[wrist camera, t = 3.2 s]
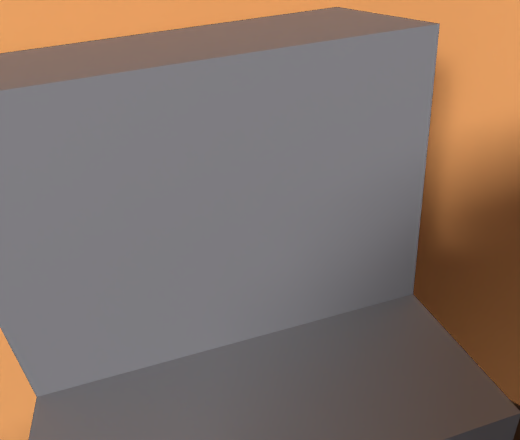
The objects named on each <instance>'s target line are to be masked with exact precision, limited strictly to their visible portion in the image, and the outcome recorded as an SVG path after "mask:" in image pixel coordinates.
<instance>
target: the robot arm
mask: <svg viewBox="0 0 520 440" xmlns="http://www.w3.org/2000/svg"><path fill="white" fill-rule="evenodd" d="M510 401H511V400H510ZM511 402H512V403H513V404H514V405H515V406H516V407H517V408H518V410H519V411H520V406H519V405H518V404H516V403H514V402H513V401H511ZM513 440H520V419H519V422H518V425H517V429H516V432H515V435H514V438H513Z"/></svg>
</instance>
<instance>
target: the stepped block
mask: <svg viewBox="0 0 520 440" xmlns="http://www.w3.org/2000/svg"><path fill="white" fill-rule="evenodd" d="M438 34H439V24H438V23H432V22H426V21H420V20H413V19H407V18H401V17H395V16H389V15H383V14H377V13H371V12H364V11H358V10H352V9H346V8H340V7H334V8H327V9H319V10H312V11H305V12H298V13H290V14H283V15H276V16H269V17H261V18H254V19H247V20H240V21H232V22H225V23H218V24H211V25H204V26H196V27H189V28H182V29H174V30H167V31H160V32H153V33H146V34H138V35H131V36H124V37H117V38H109V39H102V40H95V41H88V42H80V43H73V44H66V45H59V46H51V47H44V48H37V49H30V50H22V51H15V52H8V53H1V54H0V328H1V330H2V331H3V333H4V335H5V337H6V339H7V341H8V343H9V345H10V347H11V349H12V351H13V352H14V354H15V356H16V358H17V360H18V362H19V364H20V366H21V368H22V370H23V372H24V373H25V375H26V377H27V379H28V381H29V383H30V385H31V387H32V389H33V391H34V393H35V394H36V396H37V399H36V404H35V409H34V414H33V420H32V425H31V430H30V435H29V440H513V438H514V435H515V432H516V429H517V425H518V422H519V419H520V411H519V410H518V408H517V407H516V406H515V405H514V404H513V403H512V402H511V401H510V400H509V399H508V397H507V396H506V395H505V394H504V393H503V392H502V391H501V390H500V389H499V388H498V387H497V385H496V384H495V383H494V382H493V381H492V380H491V379H490V378H489V377H488V376H487V375H486V373H485V372H484V371H483V370H482V369H481V368H480V367H479V366H478V365H477V364H476V362H475V361H474V360H473V359H472V358H471V357H470V356H469V355H468V354H467V353H466V352H465V350H464V349H463V348H462V347H461V346H460V345H459V344H458V343H457V342H456V341H455V339H454V338H453V337H452V336H451V335H450V334H449V333H448V332H447V331H446V330H445V329H444V327H443V326H442V325H441V324H440V323H439V322H438V321H437V320H436V319H435V318H434V316H433V315H432V314H431V313H430V312H429V311H428V310H427V309H426V308H425V307H424V306H423V304H422V303H421V302H420V301H419V300H418V299H417V298H416V297H415V296H414V295H413V290H414V279H415V269H416V259H417V249H418V239H419V228H420V218H421V208H422V198H423V188H424V177H425V167H426V157H427V147H428V136H429V126H430V116H431V106H432V96H433V85H434V75H435V65H436V55H437V45H438Z"/></svg>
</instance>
